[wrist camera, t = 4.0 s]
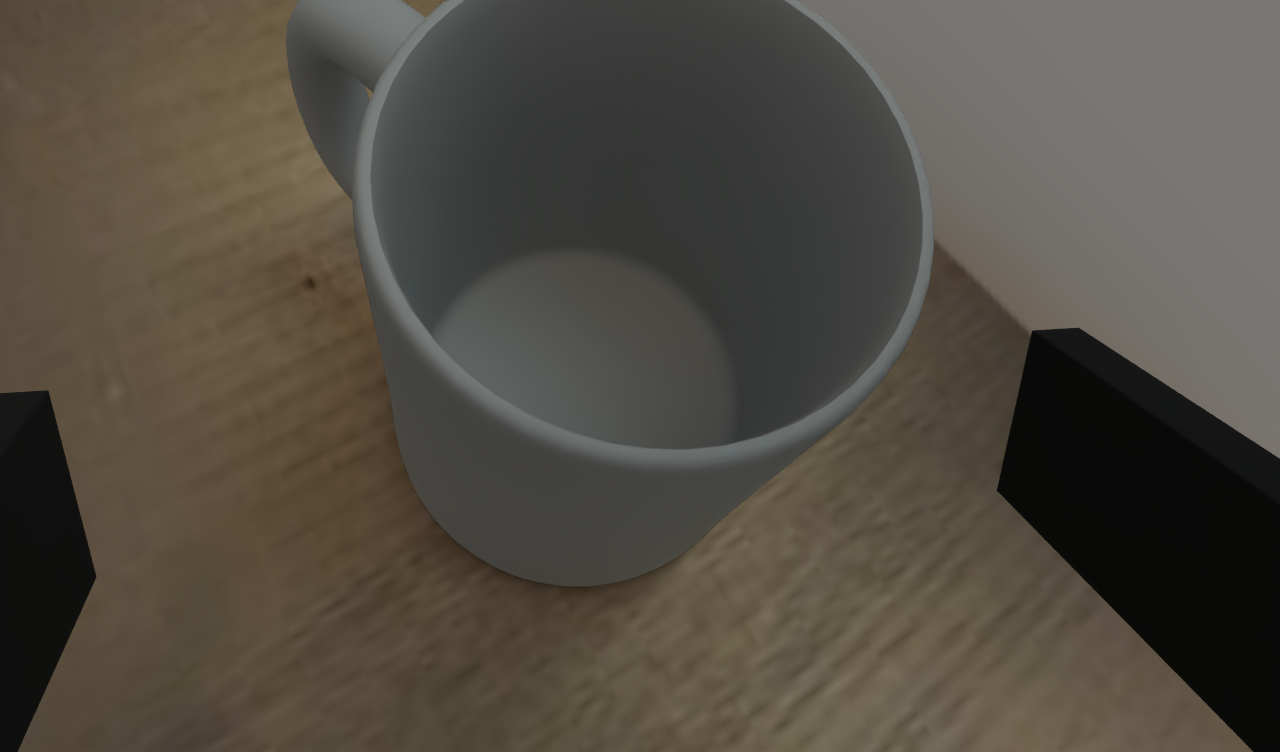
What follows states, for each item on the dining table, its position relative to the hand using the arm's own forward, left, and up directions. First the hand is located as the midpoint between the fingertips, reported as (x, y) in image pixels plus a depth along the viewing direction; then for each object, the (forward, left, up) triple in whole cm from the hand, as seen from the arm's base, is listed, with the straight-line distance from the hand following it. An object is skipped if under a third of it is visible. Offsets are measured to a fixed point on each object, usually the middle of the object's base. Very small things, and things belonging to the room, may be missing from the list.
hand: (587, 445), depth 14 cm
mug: (-1, -5, -10) cm, 11 cm away
